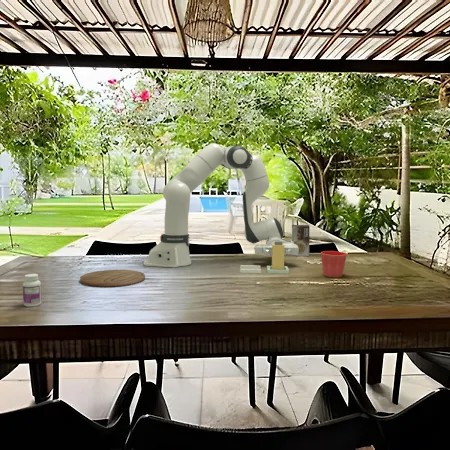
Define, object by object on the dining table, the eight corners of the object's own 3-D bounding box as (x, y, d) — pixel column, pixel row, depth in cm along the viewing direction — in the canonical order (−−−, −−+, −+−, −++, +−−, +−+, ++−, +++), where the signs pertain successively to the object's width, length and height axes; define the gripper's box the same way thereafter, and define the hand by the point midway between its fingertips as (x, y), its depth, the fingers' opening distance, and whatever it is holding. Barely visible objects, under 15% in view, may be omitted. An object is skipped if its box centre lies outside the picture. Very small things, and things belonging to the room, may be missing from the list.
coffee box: (308, 254, 239) (309, 224, 238) (309, 256, 233) (310, 226, 231) (291, 253, 240) (291, 224, 238) (291, 255, 234) (292, 225, 232)
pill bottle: (27, 302, 143) (25, 273, 142) (43, 302, 144) (42, 273, 143) (20, 307, 138) (19, 276, 137) (38, 306, 138) (37, 276, 137)
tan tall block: (272, 272, 192) (272, 242, 191) (271, 270, 197) (272, 240, 196) (283, 272, 192) (284, 242, 190) (282, 270, 197) (283, 241, 195)
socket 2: (267, 273, 190) (268, 269, 190) (267, 269, 199) (267, 265, 199) (288, 273, 190) (289, 270, 190) (287, 269, 199) (287, 266, 199)
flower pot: (347, 274, 190) (348, 251, 189) (343, 279, 180) (344, 255, 179) (323, 271, 195) (324, 250, 194) (317, 276, 185) (318, 253, 184)
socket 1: (240, 272, 191) (240, 269, 190) (240, 268, 200) (240, 265, 200) (261, 273, 190) (261, 269, 190) (260, 268, 199) (260, 265, 199)
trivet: (66, 284, 168) (66, 280, 168) (105, 272, 192) (105, 267, 191) (122, 291, 160) (122, 285, 160) (156, 276, 183) (156, 272, 183)
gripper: (253, 240, 212) (254, 245, 199) (296, 241, 211) (300, 245, 198) (253, 253, 213) (254, 259, 199) (296, 254, 212) (299, 259, 198)
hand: (277, 252), depth 198 cm, fingers open, 8 cm apart
